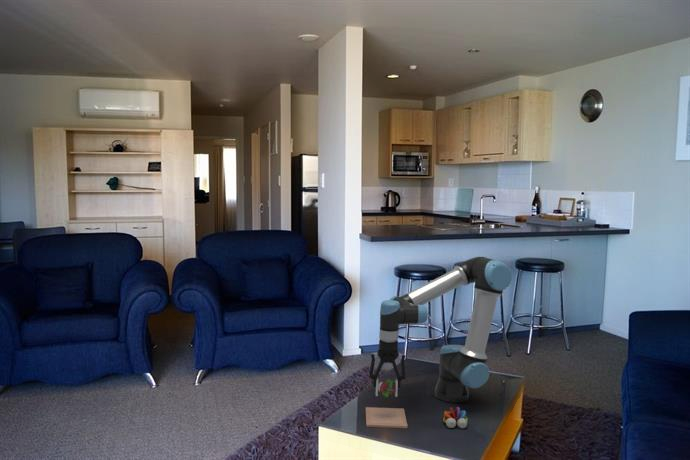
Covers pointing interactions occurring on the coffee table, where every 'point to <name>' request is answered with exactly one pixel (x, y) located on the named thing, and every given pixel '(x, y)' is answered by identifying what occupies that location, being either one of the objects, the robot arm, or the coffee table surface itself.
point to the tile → (385, 417)
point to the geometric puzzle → (387, 388)
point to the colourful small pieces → (455, 418)
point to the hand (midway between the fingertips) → (386, 394)
